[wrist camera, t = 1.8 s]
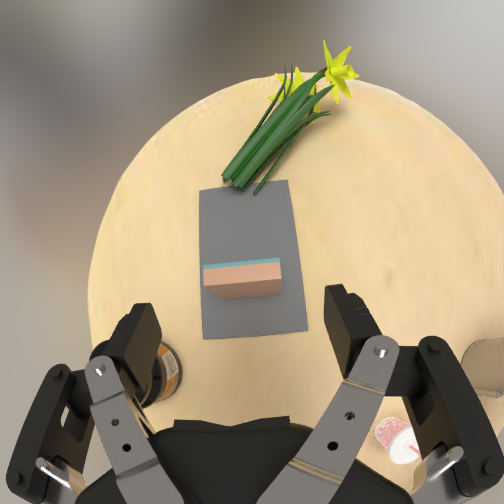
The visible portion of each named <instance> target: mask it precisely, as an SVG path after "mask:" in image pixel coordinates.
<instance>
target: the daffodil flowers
mask: <svg viewBox="0 0 504 504" xmlns="http://www.w3.org/2000/svg"><path fill="white" fill-rule="evenodd" d="M350 49H351V46H350V47H348V48H347V49H345V50H344V51H343V52H341V53H340V54H339V55H338V56H337V57H336V58H335V59H334V60H333V61H332V57H331V55H330V53H329V51H328V49H327V47H326V42H325V41H324V51H325V58H326V63H327V68H324V69H322V70H321V71H319V72H318V73H317V74H315V75H314V76H313V77H312V78H311V79H310V80H307V81H305V82H304V81H303V78H302V75H301V73H300V71H299V69H298V67H296V69H295V83H294V82H293V69H292V66H291V80H289V79H287V75H286V67H285V77H283V76H281V75H279V74H276V73H275V75H276V77H277V78H278V79H279V80H280V81H281V83H282V87H281V88H280V90H279V92H278V93H277V94H275V95H272V96H270V97H268V98H269V99H271V100H273V102H272V103H271V105H270V106H269V108H268V110H267V111H266V113H265V114H264V116H263V117H262V119H261V120H260V122H259V124H258V125H257V126H256V128H255V129H254V131H253V132H252V133H251V135H250V136H249V138H248V139H247V141H246V142H245V143H244V145H243V146H242V148H241V149H240V150H239V152H238V153H237V154H236V156H235V157H234V158H233V160H232V161H231V162H230V164H229V165H228V166H227V168H226V169H225V170H224V172H223V173H222V175H221V176H222V177H223V181H225V180H226V179H227V180H229V178H231V179H232V180H231V181H232V183H231V184H232V185H234V186H235V187H238V186H239V187H241V189H240V190H242V191H244V190H245V189H246V188H247V187H248V185H249V184H250V183H251V182H252V180H253V179H254V178H255V177H256V176H257V174H258V173H259V172H260V171H261V170H262V168H263V167H264V166H265V165H266V164H267V163H268V162H269V161H270V160H271V159H272V158H273V157H274V156H275V155H276V153H277V152H278V151H279V150H280V149H281V148H282V147H283V146H284V145H286V144H287V143H288V142H289V141H290V140H291V141H290V142H289V143H288V145H287V146H286V147H285V149H284V150H283V152H282V153H281V154H280V156H279V157H278V159H277V160H276V162H275V163H274V164H273V166H272V167H271V169H270V170H269V172H268V173H267V174H266V176H265V177H264V178H263V180H262V181H261V182H260V184H259V185H258V186H257V188H256V189H255V191H254V192H253V194H256V193H257V191H258V190H259V189H260V187H261V186H262V185H263V183H264V182H265V181H266V179H267V178H268V176H269V175H270V174H271V172H272V171H273V170H274V168H275V167H276V165H277V164H278V162H279V161H280V160H281V158H282V157H283V155H284V154H285V152H286V151H287V150H288V148H289V147H290V145H291V144H292V143H293V141H294V140H295V139H296V137H297V136H298V134H299V133H300V132H301V130H302V129H303V128H304V127H306V126H307V125H308V124H309V123H311V122H312V121H313V120H315V119H317V118H319V117H321V116H326V115H331V114H325V113H328V112H330V111H326V112H321V111H320V108H319V106H318V104H317V102H318V101H319V100H320V99H321V98H322V97H323V96H325V95H326V94H327V93H328V92H329V91H330V90H331V91H332V94H333V97H334V99H335V100H336V102H337V104H339V95H338V88H339V89H340V90H341V92H342V93H343V94H344V95H346V96H347V97H349V98H350V99H352V96H351V93H350V91H349V89H348V87H347V85H346V83H345V81H344V79H352V78H357V77H359V75H358V74H356V73H354V71H353V68H352V66H351V65H349V64H348V65H345V66H343V64H344V61H345V59H346V57H347V54H348V53H349V51H350ZM325 76H326V81H330V84H331V86H329V87H327V88H325V89H323V90H321V91H320V92H318V93H317V94H316V90H317V88H318V87H319V86H317V85H316V84H315V83H316V82H317V81H318V80H320V79H321V78H322V77H325ZM284 87H285V88H286V89H287V91H285V88H284ZM283 89H284V92H282V91H283ZM312 94H314V95H313V96H311V95H312ZM276 101H281V103H280V104H279V105H278V107H277V108H276V109H275V110H274V112H273V113H272V114H271V115H270V117H269V118H268V119H267V121H266V122H265V123H264V124H263V122H264V120H265V119H266V117H267V116H268V114H269V113H270V111H271V109H272V108H273V106H274V105H275V103H276ZM309 110H310V112H309V114H308V116H307V117H306V118H305V119H304V120H302V121H301V122H300V123H298V122H299V121H300V119H301V118H302V117H303V116H304V115H305V114H306V113H307V112H308V111H309ZM313 111H314V112H316V113H315V114H312V113H313ZM321 114H323V115H321ZM297 123H298V124H297ZM262 124H263V125H262ZM296 124H297V125H296ZM261 125H262V127H261ZM295 125H296V126H295ZM294 126H295V127H294ZM260 127H261V128H260ZM259 128H260V129H259ZM296 129H297V130H296ZM286 138H287V139H286ZM285 139H286V140H285ZM284 140H285V141H284ZM267 157H268V158H267ZM266 158H267V159H266ZM265 159H266V160H265ZM264 160H265V161H264ZM263 161H264V162H263ZM262 162H263V163H262ZM261 163H262V164H261Z"/></svg>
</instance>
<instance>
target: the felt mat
mask: <svg viewBox="0 0 504 504" xmlns="http://www.w3.org/2000/svg"><path fill="white" fill-rule="evenodd" d="M259 184H260V183H252V184H249V185H248V187H247V188H246V189H245V190H244V191H242V190H240V189H241V187H239V186H238V187H235V186H228V187H221V188H214V189H207V190H200V191H199V248H200V287H201V311H202V330H203V339H221V338H238V337H251V336H263V335H274V334H284V333H293V332H302V331H308V324H307V314H306V305H305V297H304V288H303V280H302V272H301V265H300V257H299V250H298V243H297V236H296V229H295V222H294V216H293V210H292V203H291V197H290V191H289V185H288V180H279V181H269V182H264V183H263V185H262V186H261V187H260V189H259V190H258V191H257V193H256V194H253V192H254V191H255V189H256V188H257V186H258V185H259ZM269 258H279V260H280V269H281V278H282V281H281V294H279V295H269V296H259V297H248V298H237V299H225V300H223V299H221V298H220V297H218V296H217V295H216V294H214V293H213V292H211V291H210V290H209V289H207V288H206V287H205V286H204V276H203V265H211V264H221V263H231V262H241V261H250V260H260V259H269Z"/></svg>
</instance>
